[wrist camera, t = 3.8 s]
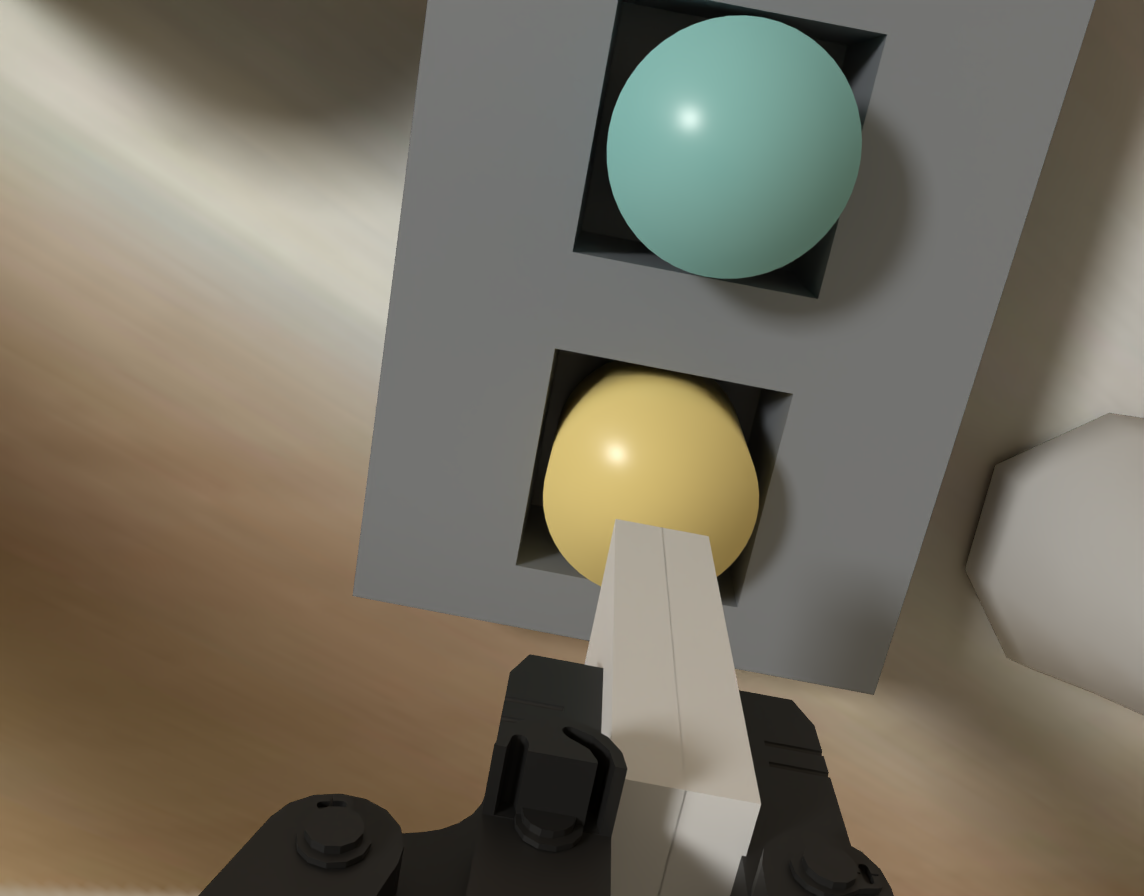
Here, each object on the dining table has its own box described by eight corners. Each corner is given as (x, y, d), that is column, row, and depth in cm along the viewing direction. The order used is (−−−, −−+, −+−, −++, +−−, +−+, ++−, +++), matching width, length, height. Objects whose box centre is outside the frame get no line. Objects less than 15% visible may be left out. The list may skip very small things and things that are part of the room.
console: (391, 527, 27) (352, 595, 23) (531, -498, 20) (507, -638, 16) (840, 612, 27) (874, 694, 23) (1135, -380, 20) (1252, -492, 16)
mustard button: (541, 510, 25) (526, 576, 22) (573, 337, 24) (563, 378, 20) (717, 544, 25) (731, 615, 22) (760, 373, 24) (782, 419, 20)
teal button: (592, 230, 22) (585, 254, 19) (633, 10, 21) (634, -8, 17) (794, 268, 22) (825, 299, 19) (848, 52, 21) (892, 41, 17)
